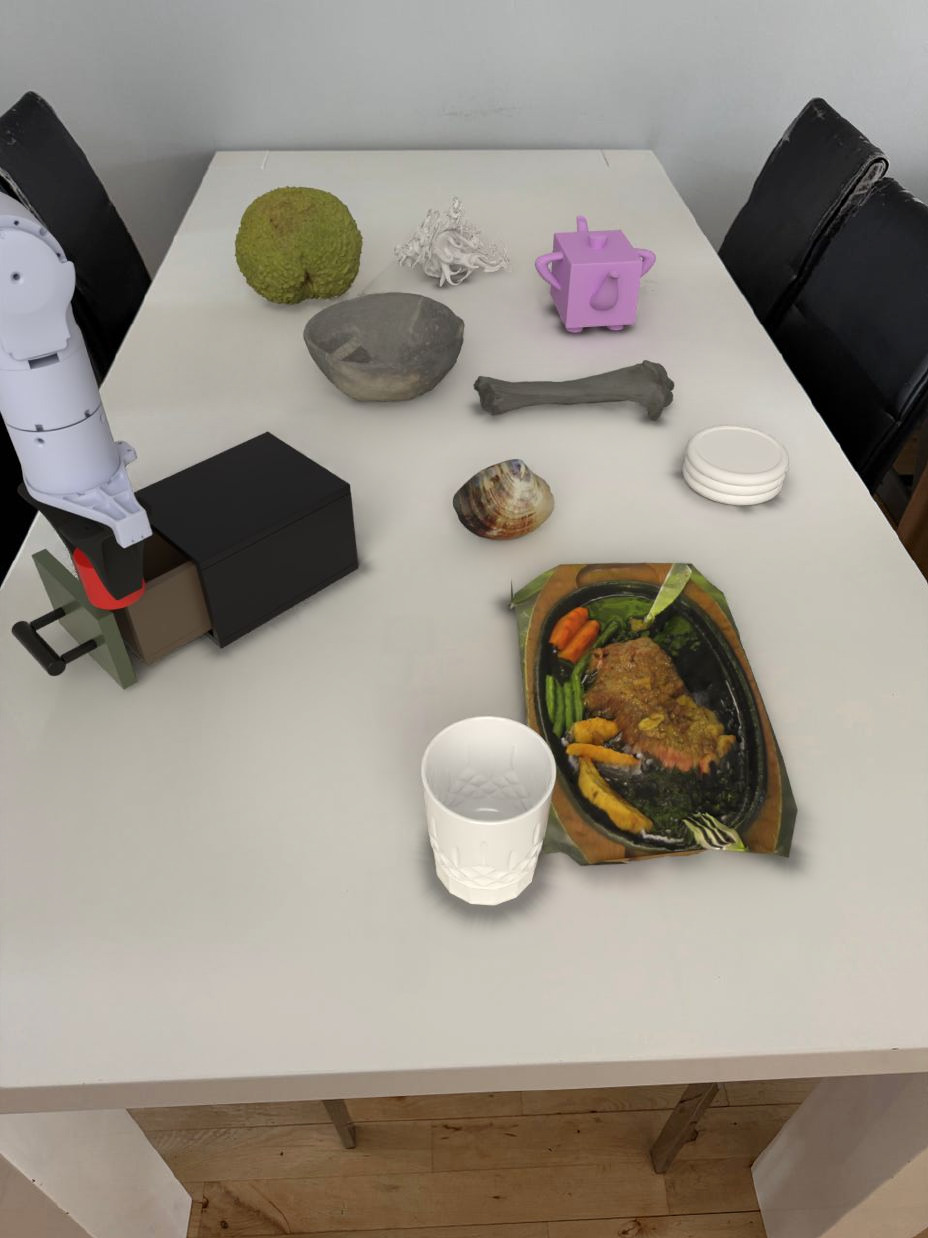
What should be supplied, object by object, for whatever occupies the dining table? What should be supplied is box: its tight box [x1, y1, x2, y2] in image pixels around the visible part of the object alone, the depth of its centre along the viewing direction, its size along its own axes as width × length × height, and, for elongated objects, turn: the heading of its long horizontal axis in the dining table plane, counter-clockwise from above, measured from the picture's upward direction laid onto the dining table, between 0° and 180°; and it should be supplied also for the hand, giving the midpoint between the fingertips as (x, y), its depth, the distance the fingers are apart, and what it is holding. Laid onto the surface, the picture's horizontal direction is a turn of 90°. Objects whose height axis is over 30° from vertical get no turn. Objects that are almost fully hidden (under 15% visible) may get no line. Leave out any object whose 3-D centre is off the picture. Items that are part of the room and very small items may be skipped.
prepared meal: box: [507, 562, 798, 867], centre depth 69 cm, size 28×4×18 cm
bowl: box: [302, 291, 466, 403], centre depth 103 cm, size 18×18×8 cm
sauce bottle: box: [73, 548, 146, 610], centre depth 64 cm, size 4×4×6 cm
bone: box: [473, 359, 675, 422], centre depth 99 cm, size 22×6×6 cm, turn 91°
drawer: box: [10, 529, 212, 690], centre depth 72 cm, size 18×10×7 cm, turn 135°
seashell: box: [452, 458, 556, 541], centre depth 83 cm, size 10×6×8 cm, turn 102°
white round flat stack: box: [681, 424, 790, 506], centre depth 91 cm, size 10×10×4 cm
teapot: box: [534, 215, 657, 334], centre depth 115 cm, size 15×13×11 cm
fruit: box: [234, 185, 364, 306], centre depth 119 cm, size 16×14×15 cm
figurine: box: [393, 195, 514, 287], centre depth 125 cm, size 13×15×12 cm
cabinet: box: [133, 431, 359, 649], centre depth 78 cm, size 15×12×9 cm
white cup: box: [420, 715, 556, 906], centre depth 57 cm, size 8×8×10 cm
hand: (111, 577), depth 65 cm, fingers closed on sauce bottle, 4 cm apart
